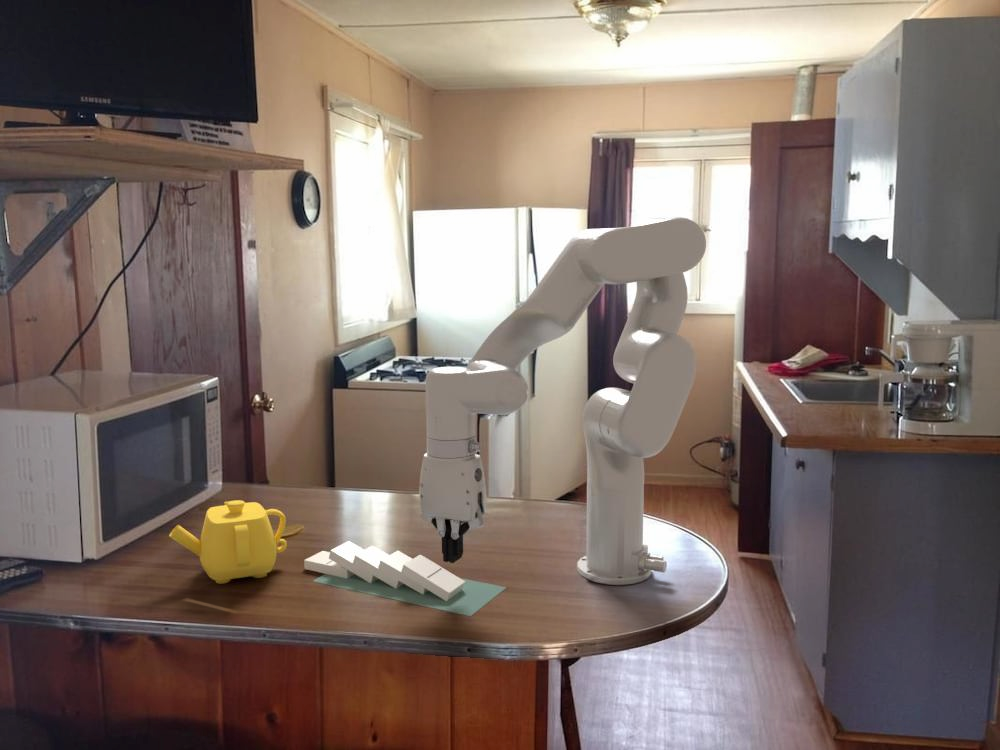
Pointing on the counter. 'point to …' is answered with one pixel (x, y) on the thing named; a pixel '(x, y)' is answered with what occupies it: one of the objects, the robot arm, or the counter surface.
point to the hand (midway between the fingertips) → (452, 559)
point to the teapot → (235, 541)
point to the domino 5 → (433, 577)
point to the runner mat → (461, 603)
